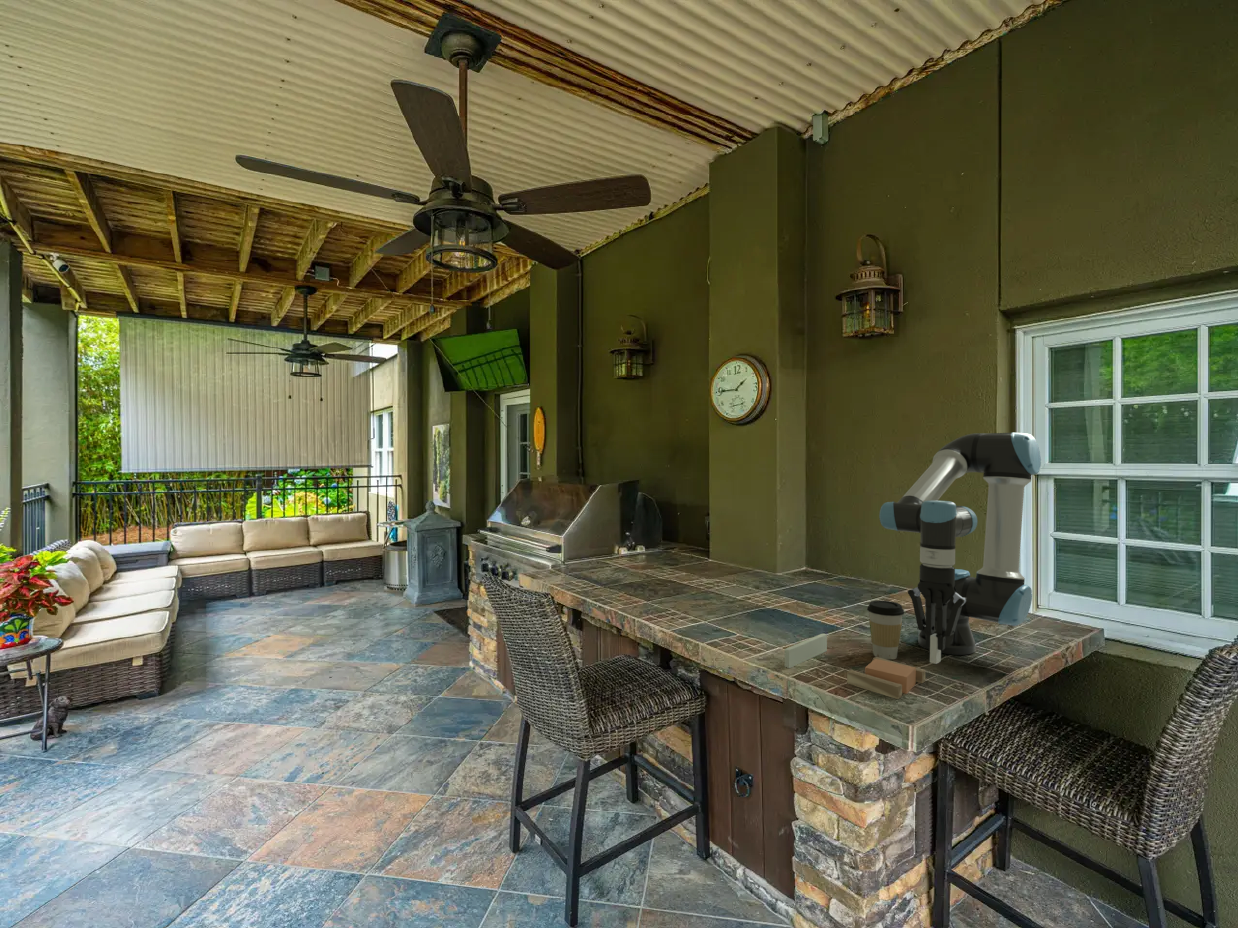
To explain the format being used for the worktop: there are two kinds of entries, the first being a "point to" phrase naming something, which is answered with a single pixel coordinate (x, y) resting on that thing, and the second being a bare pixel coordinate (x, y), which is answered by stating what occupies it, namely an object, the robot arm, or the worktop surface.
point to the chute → (881, 682)
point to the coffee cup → (885, 628)
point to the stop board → (805, 650)
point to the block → (893, 673)
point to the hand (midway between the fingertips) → (935, 661)
